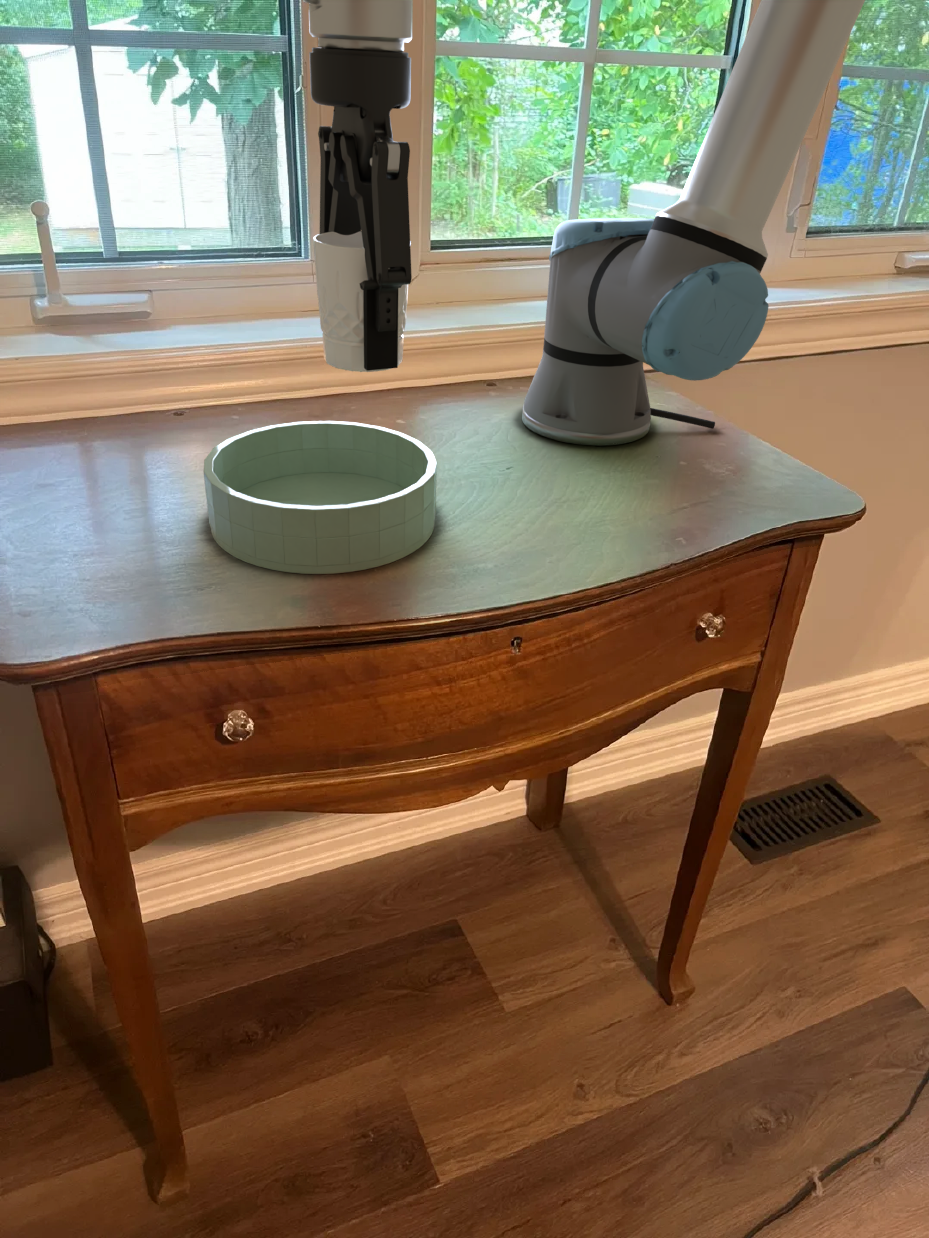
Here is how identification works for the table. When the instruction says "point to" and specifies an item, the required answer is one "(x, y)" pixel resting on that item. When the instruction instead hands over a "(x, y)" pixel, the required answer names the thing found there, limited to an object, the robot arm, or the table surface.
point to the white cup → (346, 300)
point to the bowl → (321, 496)
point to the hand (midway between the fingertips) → (363, 354)
